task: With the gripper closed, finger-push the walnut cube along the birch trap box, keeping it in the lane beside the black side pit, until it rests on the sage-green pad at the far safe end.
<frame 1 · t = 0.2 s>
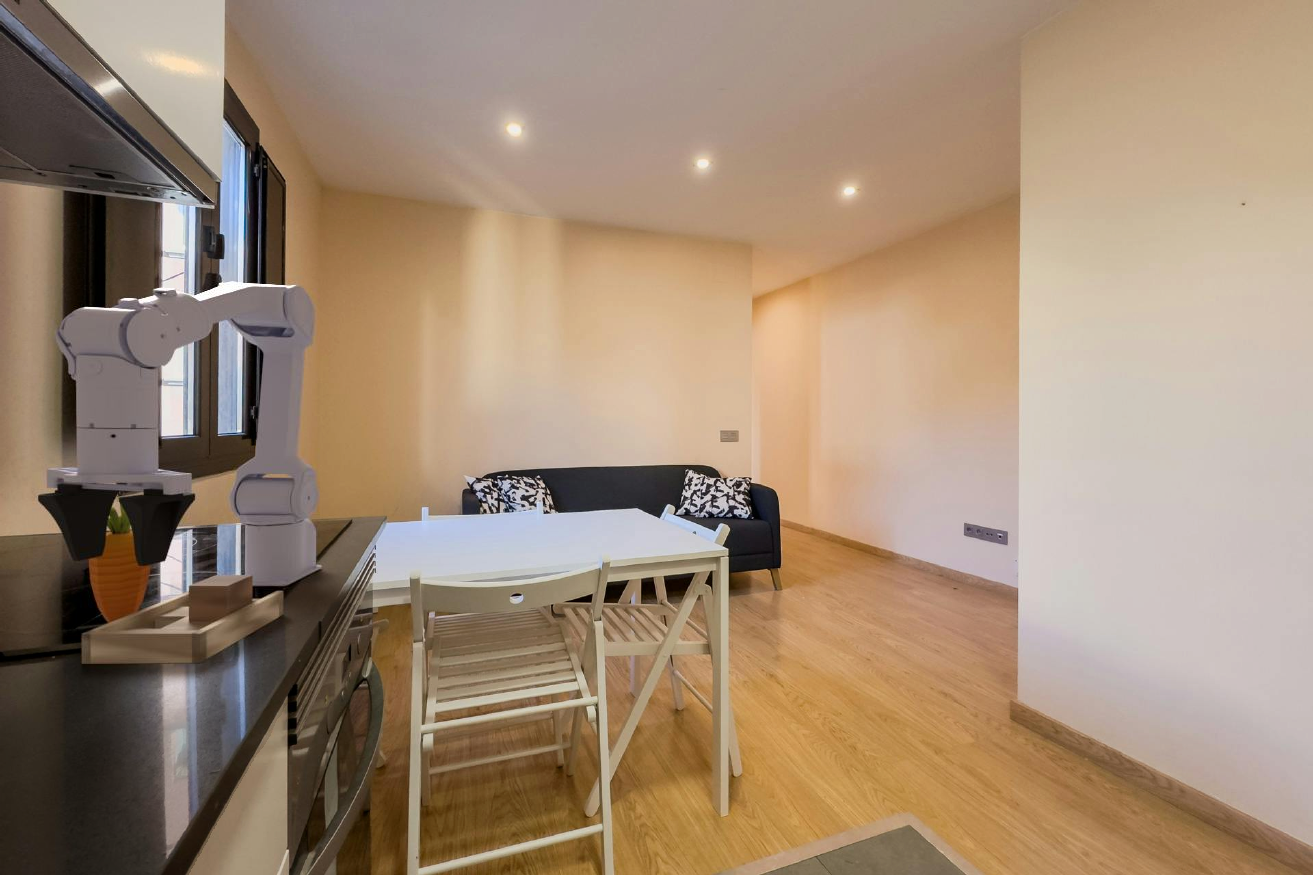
hand: (119, 560, 52), 10 cm above the countertop, fingers open, 7 cm apart
carrot: (120, 632, 59), on the countertop
trap box: (194, 636, 58), on the countertop
block: (221, 614, 59), point 2 cm above the countertop, touching trap box
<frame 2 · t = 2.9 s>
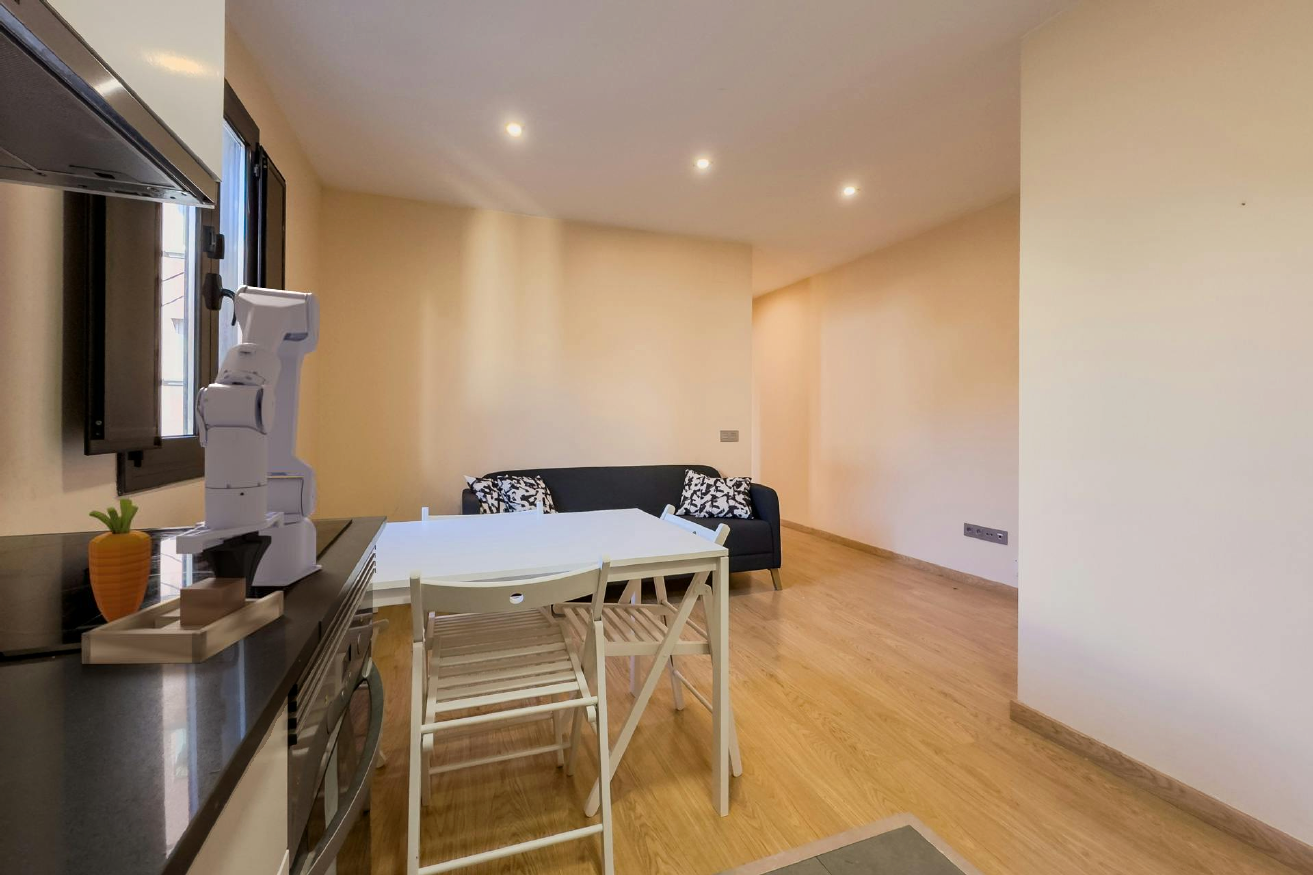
hand: (235, 599, 61), 3 cm above the countertop, fingers closed
block: (213, 618, 58), point 2 cm above the countertop, touching gripper
everything else where it was.
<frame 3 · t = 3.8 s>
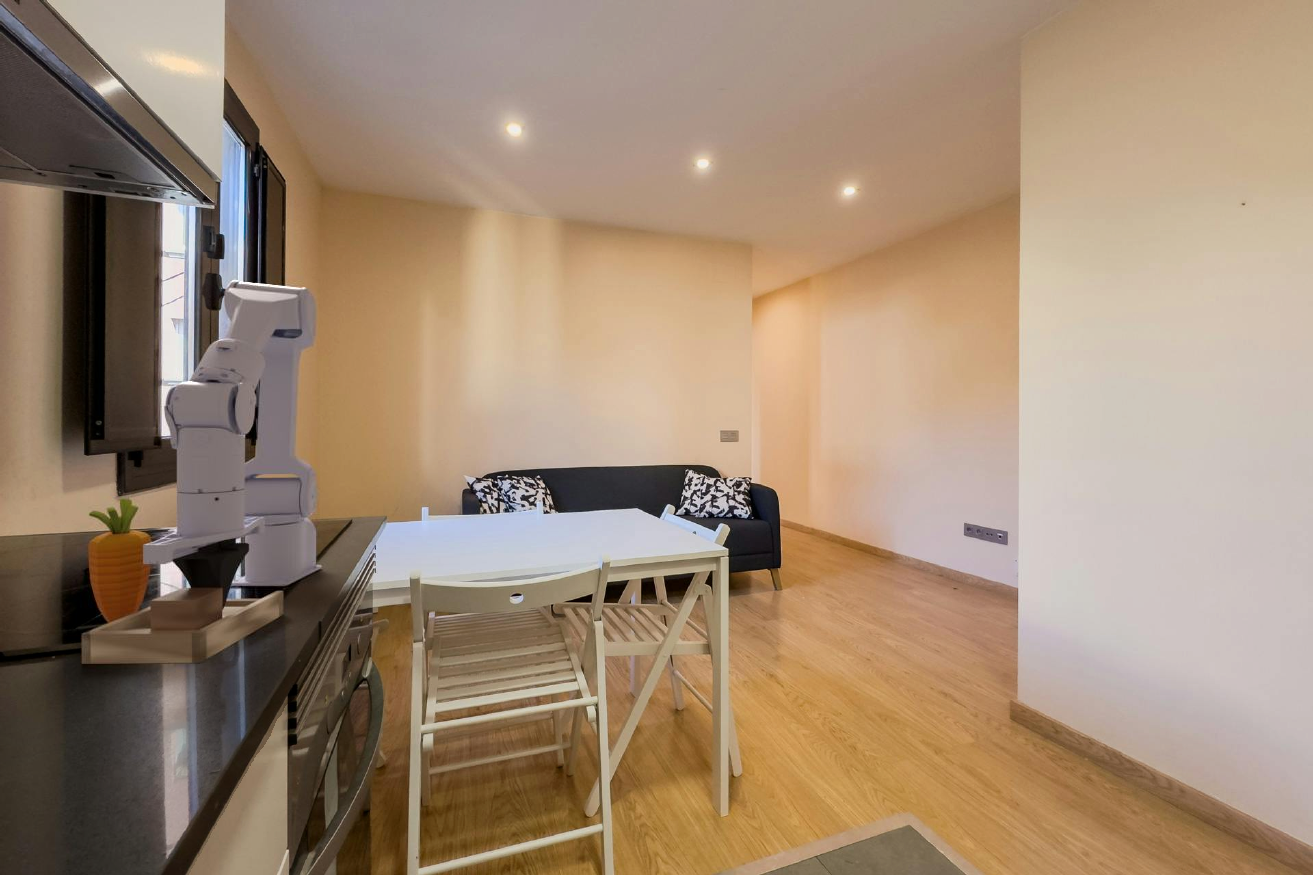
hand: (211, 610, 58), 3 cm above the countertop, fingers closed
block: (187, 631, 54), point 2 cm above the countertop, touching gripper, trap box
everything else where it was.
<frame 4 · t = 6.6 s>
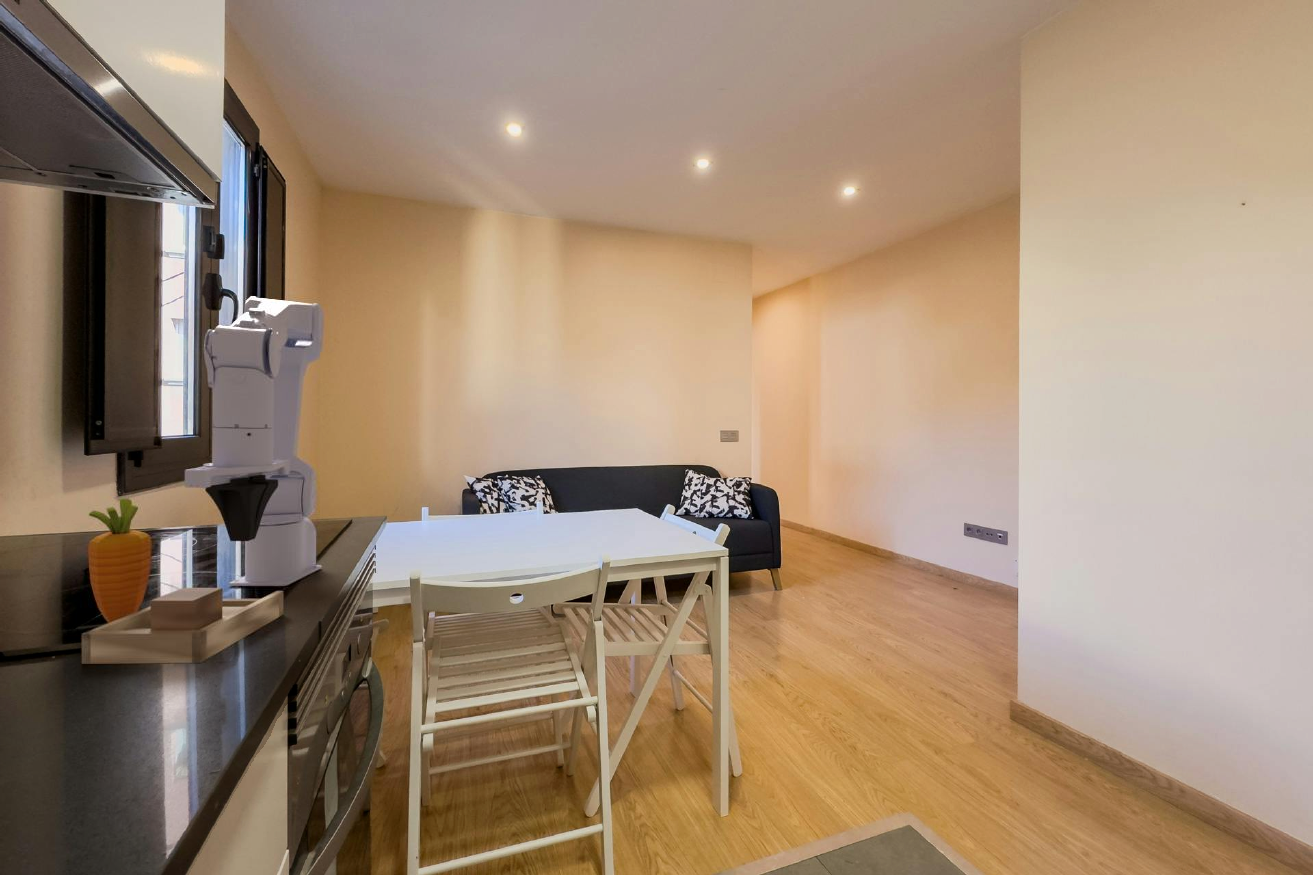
hand: (242, 539, 62), 10 cm above the countertop, fingers closed
block: (187, 631, 54), point 2 cm above the countertop, touching trap box
everything else where it was.
at the end: block 0.4 cm from the target spot on the trap box, point 2.0 cm above the trap box's base; block tilted 0°; block moved 4.7 cm from its start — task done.
